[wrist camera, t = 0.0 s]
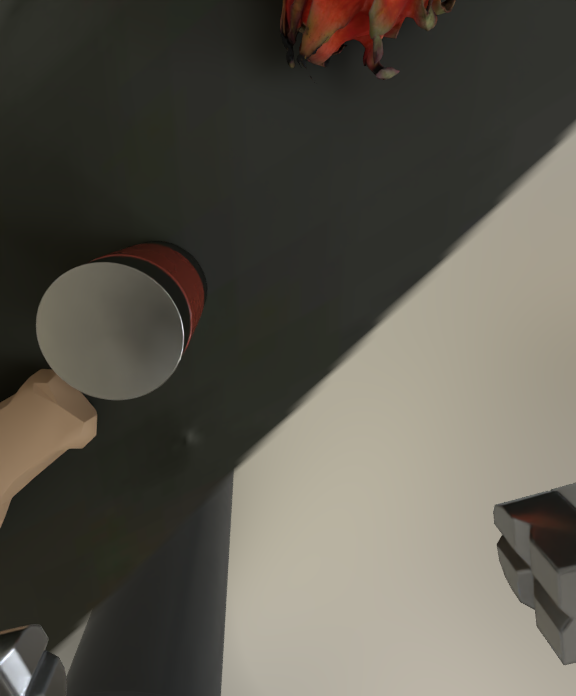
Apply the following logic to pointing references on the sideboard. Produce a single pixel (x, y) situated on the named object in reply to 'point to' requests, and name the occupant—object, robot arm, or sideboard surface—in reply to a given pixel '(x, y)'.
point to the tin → (122, 319)
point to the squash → (40, 430)
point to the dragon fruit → (352, 27)
